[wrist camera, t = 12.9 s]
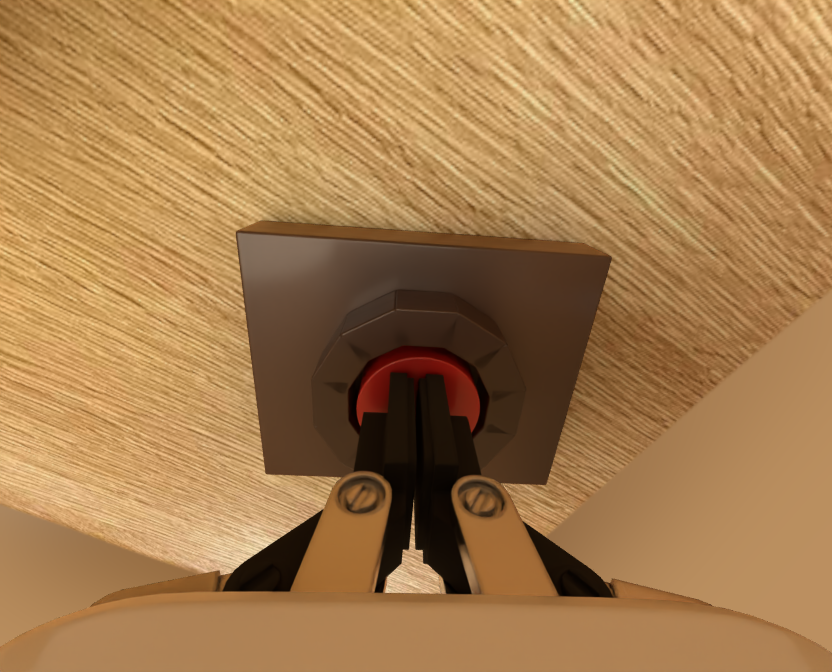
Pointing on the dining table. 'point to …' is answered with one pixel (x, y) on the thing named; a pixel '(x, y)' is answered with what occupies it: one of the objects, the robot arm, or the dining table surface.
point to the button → (417, 366)
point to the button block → (413, 334)
